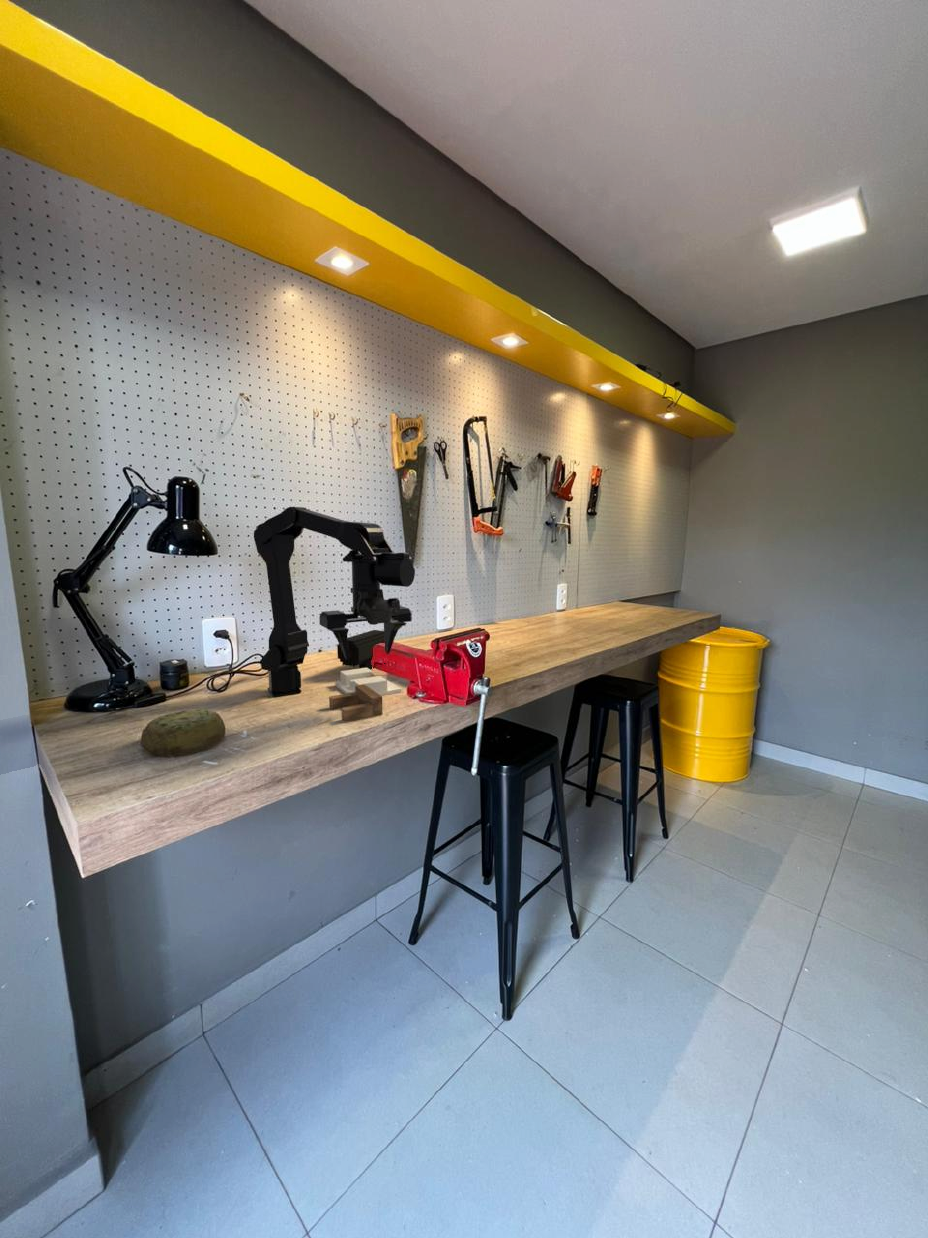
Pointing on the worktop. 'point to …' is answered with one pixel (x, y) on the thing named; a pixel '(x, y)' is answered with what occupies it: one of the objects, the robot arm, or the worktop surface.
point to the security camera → (361, 649)
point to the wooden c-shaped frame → (366, 681)
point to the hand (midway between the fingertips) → (367, 656)
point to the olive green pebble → (183, 732)
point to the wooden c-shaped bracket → (357, 703)
